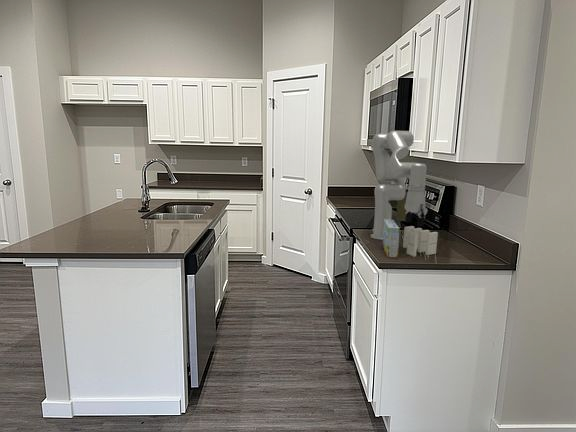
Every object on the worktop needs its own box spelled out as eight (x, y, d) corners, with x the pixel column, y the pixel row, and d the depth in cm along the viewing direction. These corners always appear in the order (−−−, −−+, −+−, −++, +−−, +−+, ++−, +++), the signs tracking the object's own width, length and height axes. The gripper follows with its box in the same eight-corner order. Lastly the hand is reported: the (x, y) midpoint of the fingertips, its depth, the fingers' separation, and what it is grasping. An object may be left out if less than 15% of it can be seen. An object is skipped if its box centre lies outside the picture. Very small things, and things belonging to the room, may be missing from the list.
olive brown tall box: (408, 221, 287) (410, 193, 283) (394, 219, 292) (396, 192, 288) (412, 219, 296) (414, 192, 292) (398, 217, 301) (400, 191, 297)
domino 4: (417, 251, 207) (419, 230, 205) (425, 250, 210) (427, 229, 208) (419, 252, 206) (421, 231, 204) (427, 251, 208) (429, 230, 206)
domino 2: (410, 249, 211) (411, 228, 209) (418, 248, 214) (419, 227, 212) (412, 250, 210) (413, 229, 208) (420, 248, 213) (422, 228, 211)
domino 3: (413, 256, 198) (415, 234, 196) (406, 253, 203) (408, 232, 201) (416, 256, 198) (417, 234, 196) (408, 253, 204) (410, 231, 202)
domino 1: (402, 247, 215) (404, 227, 213) (410, 245, 218) (412, 226, 216) (404, 247, 214) (406, 227, 212) (412, 246, 217) (414, 226, 215)
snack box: (381, 246, 216) (383, 218, 213) (391, 247, 215) (394, 219, 213) (386, 257, 195) (388, 227, 192) (398, 258, 195) (400, 227, 192)
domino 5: (425, 254, 202) (427, 233, 200) (433, 252, 205) (435, 231, 203) (427, 255, 201) (429, 233, 199) (435, 253, 204) (437, 232, 202)
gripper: (399, 187, 202) (397, 221, 204) (421, 191, 185) (418, 227, 188) (412, 187, 204) (410, 220, 207) (434, 190, 188) (432, 227, 191)
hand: (414, 224), depth 197 cm, fingers open, 9 cm apart
